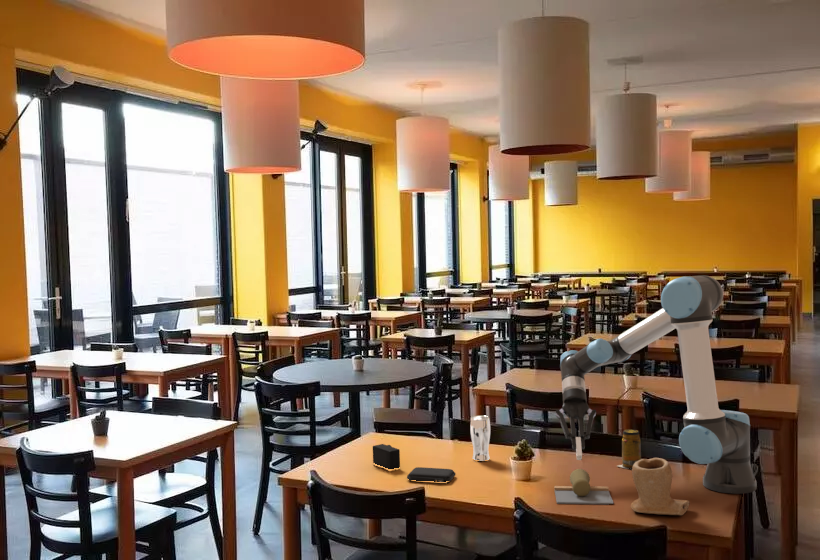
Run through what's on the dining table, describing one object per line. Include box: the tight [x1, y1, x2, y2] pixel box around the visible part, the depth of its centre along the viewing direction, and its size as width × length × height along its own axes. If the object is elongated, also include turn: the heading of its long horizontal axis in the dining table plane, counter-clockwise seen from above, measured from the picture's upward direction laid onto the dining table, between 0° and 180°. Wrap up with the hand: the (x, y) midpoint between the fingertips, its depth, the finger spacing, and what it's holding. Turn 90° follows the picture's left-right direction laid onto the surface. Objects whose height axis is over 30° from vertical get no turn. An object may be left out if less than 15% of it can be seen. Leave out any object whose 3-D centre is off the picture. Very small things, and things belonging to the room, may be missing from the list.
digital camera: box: [372, 443, 401, 469], centre depth 272 cm, size 10×5×7 cm, turn 36°
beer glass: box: [470, 415, 491, 461], centre depth 278 cm, size 7×7×15 cm
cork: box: [569, 468, 591, 497], centre depth 237 cm, size 6×6×11 cm
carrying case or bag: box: [406, 466, 456, 482], centre depth 256 cm, size 11×3×15 cm
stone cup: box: [630, 457, 690, 516], centre depth 218 cm, size 15×12×15 cm
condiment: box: [617, 429, 642, 470], centre depth 264 cm, size 7×8×12 cm
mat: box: [553, 485, 614, 505], centre depth 234 cm, size 13×16×1 cm
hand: (579, 457), depth 242 cm, fingers closed
